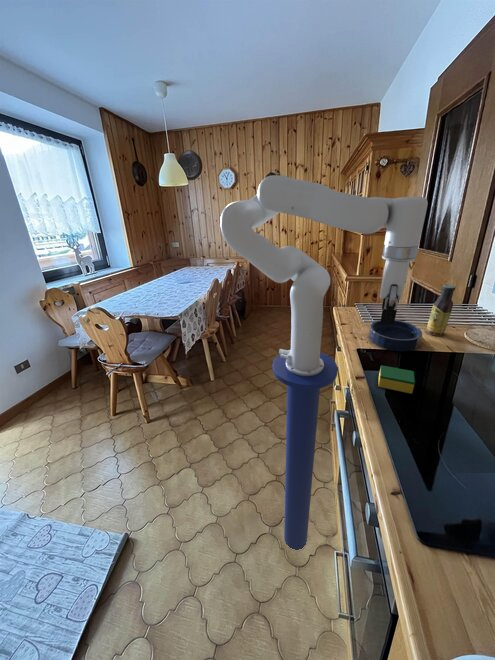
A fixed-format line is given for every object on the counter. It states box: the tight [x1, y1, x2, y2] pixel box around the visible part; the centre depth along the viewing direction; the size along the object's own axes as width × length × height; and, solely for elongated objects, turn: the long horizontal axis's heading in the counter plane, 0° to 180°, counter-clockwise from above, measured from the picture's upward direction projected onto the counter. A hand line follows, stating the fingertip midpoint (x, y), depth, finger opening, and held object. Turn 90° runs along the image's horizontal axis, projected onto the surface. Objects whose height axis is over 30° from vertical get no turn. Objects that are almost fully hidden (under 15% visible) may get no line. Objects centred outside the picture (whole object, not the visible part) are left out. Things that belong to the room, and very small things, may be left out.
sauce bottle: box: [426, 283, 457, 337], centre depth 108 cm, size 7×6×20 cm
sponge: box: [377, 364, 416, 394], centre depth 85 cm, size 9×6×4 cm, turn 65°
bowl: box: [368, 319, 423, 352], centre depth 108 cm, size 18×18×5 cm
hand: (387, 316), depth 77 cm, fingers open, 9 cm apart
